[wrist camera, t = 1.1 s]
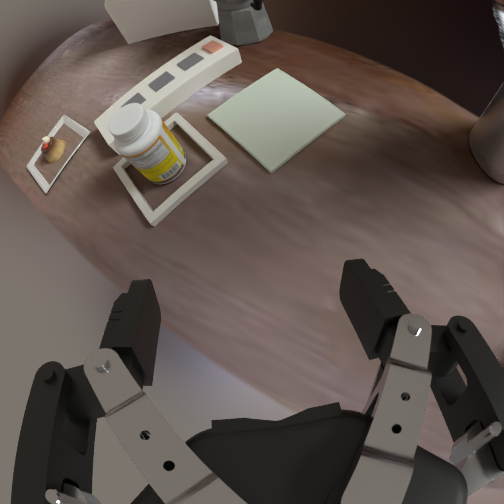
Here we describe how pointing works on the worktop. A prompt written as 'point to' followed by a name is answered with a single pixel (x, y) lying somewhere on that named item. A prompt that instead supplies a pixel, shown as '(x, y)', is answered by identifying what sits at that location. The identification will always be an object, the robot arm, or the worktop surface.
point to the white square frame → (186, 188)
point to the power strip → (175, 81)
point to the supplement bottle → (147, 143)
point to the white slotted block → (160, 16)
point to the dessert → (54, 150)
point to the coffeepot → (243, 21)
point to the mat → (275, 118)
